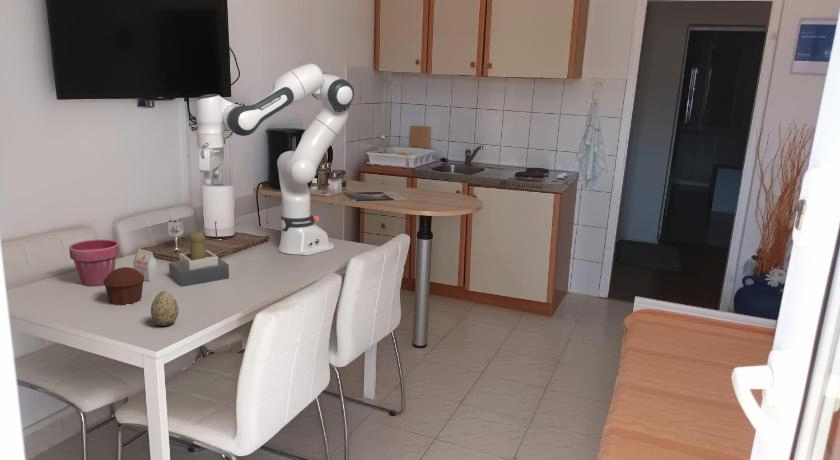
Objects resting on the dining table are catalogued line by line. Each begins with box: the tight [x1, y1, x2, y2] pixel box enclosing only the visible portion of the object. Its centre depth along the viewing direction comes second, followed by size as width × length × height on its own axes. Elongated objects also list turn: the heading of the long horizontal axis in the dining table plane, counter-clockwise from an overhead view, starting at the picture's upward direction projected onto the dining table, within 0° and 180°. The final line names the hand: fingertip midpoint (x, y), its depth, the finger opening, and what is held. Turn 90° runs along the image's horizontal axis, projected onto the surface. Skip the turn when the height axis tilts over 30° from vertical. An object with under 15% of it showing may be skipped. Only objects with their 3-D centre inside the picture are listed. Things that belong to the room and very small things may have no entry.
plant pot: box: [68, 239, 120, 287], centre depth 202 cm, size 14×14×13 cm
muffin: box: [103, 266, 145, 306], centre depth 188 cm, size 12×11×10 cm
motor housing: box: [168, 249, 230, 287], centre depth 211 cm, size 16×12×8 cm
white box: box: [133, 248, 159, 283], centre depth 207 cm, size 4×7×10 cm, turn 64°
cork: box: [188, 231, 207, 260], centre depth 209 cm, size 6×6×11 cm
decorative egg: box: [150, 290, 179, 327], centre depth 172 cm, size 7×7×10 cm
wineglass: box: [167, 218, 185, 250], centre depth 239 cm, size 6×6×12 cm
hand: (212, 181), depth 219 cm, fingers open, 8 cm apart
